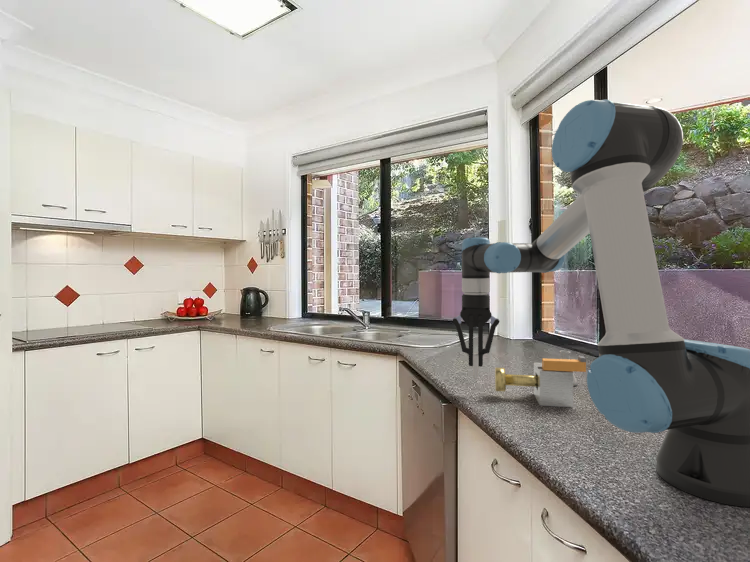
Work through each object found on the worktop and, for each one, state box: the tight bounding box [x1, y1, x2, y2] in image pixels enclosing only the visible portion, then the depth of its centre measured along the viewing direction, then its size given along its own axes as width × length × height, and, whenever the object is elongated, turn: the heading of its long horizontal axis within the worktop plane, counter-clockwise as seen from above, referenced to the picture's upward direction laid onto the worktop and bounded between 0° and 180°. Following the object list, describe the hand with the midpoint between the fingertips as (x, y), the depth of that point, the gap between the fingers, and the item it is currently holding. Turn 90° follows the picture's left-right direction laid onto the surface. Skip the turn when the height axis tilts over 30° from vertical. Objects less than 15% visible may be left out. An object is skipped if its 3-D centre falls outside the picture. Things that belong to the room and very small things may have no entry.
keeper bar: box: [541, 355, 587, 373], centre depth 106 cm, size 3×10×4 cm, turn 77°
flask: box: [559, 350, 578, 387], centre depth 126 cm, size 7×7×10 cm
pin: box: [494, 367, 538, 392], centre depth 112 cm, size 6×16×6 cm, turn 77°
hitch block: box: [533, 361, 574, 408], centre depth 110 cm, size 10×8×9 cm
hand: (475, 377), depth 115 cm, fingers closed
